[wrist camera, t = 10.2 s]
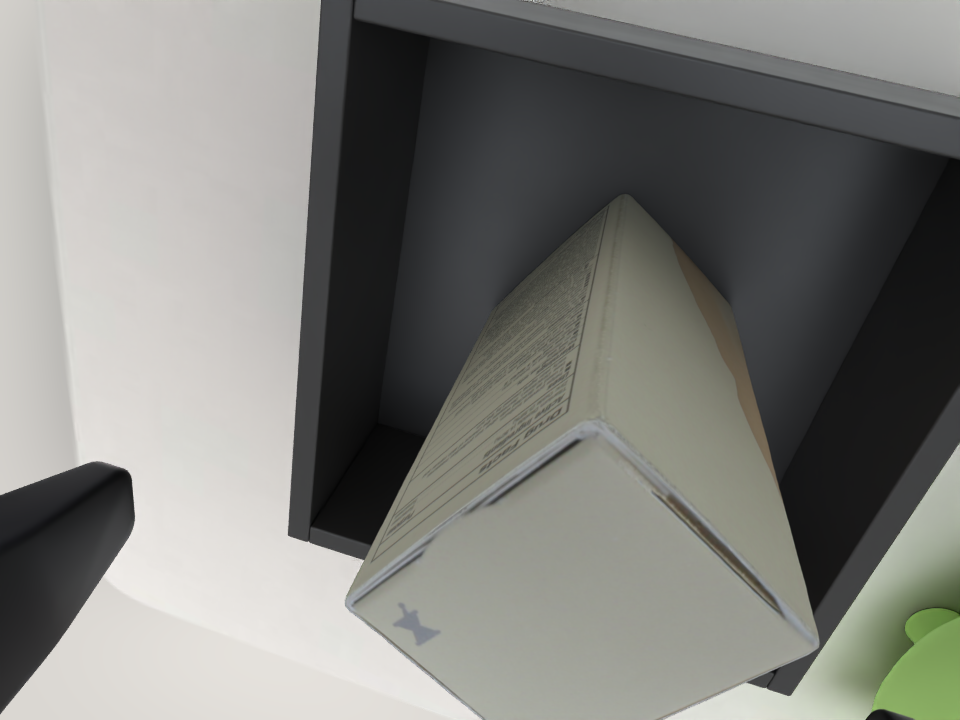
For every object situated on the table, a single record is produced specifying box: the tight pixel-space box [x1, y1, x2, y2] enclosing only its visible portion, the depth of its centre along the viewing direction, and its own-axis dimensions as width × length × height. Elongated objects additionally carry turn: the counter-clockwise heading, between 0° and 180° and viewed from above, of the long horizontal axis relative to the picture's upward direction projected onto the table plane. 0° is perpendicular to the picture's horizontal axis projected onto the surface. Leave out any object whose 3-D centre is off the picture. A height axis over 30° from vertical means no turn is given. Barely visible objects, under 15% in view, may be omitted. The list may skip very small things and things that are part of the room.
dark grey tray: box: [288, 0, 960, 696], centre depth 17 cm, size 13×13×6 cm
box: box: [345, 194, 819, 720], centre depth 14 cm, size 5×4×11 cm
